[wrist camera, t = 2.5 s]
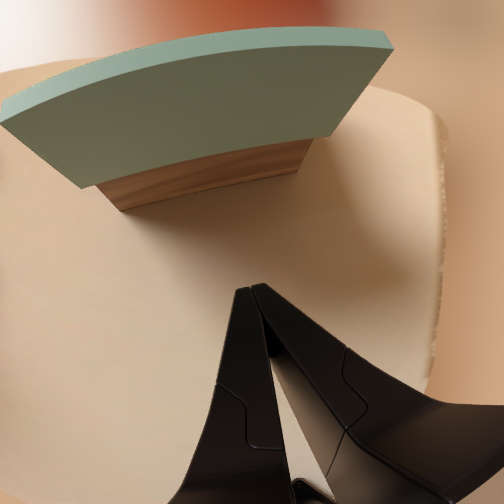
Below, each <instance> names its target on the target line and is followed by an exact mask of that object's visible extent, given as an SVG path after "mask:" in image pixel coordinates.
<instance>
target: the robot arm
mask: <svg viewBox="0 0 504 504" xmlns="http://www.w3.org/2000/svg"><path fill="white" fill-rule="evenodd" d="M270 363H271V364H270ZM271 365H272V367H273V370H274V372H275V374H276V376H277V378H278V380H279V383H280V385H281V387H282V389H283V391H284V393H285V395H286V398H287V400H288V402H289V404H290V406H291V408H292V410H293V413H294V415H295V417H296V419H297V421H298V423H299V425H300V427H301V429H302V431H303V434H304V436H305V438H306V440H307V442H308V444H309V446H310V448H311V450H312V452H313V454H314V456H315V458H316V460H317V462H318V465H319V467H320V469H321V471H322V473H323V475H324V477H325V478H326V481H327V483H328V485H329V487H330V489H331V491H332V493H333V495H334V497H335V499H336V501H337V502H335V501H334V500H332V499H331V498H329V497H328V496H326V495H325V494H323V493H322V492H320V491H319V490H317V489H316V488H315V487H313V486H312V485H310V484H309V483H308V482H306V481H305V480H303V479H302V478H296V479H294V480H293V481H292V482H291V478H290V473H289V468H288V462H287V457H286V452H285V445H284V439H283V434H282V428H281V422H280V416H279V410H278V405H277V399H276V393H275V387H274V381H273V376H272V370H271ZM297 483H301V484H300V485H296V484H297ZM168 504H504V405H472V404H454V403H446V402H441V401H438V400H435V399H433V398H430V397H428V396H426V395H424V394H422V393H421V392H419V391H417V390H415V389H413V388H412V387H410V386H408V385H406V384H405V383H403V382H401V381H399V380H397V379H396V378H394V377H392V376H390V375H389V374H387V373H385V372H384V371H382V370H380V369H379V368H377V367H376V366H374V365H372V364H371V363H370V362H368V361H367V360H365V359H364V358H362V357H361V356H360V355H358V354H357V353H356V352H354V351H353V350H352V349H350V348H349V347H347V346H346V345H345V344H344V343H342V342H341V341H340V340H338V339H337V338H336V337H334V336H333V335H332V334H330V333H329V332H328V331H327V330H325V329H324V328H323V327H321V326H320V325H319V324H317V323H316V322H315V321H313V320H312V319H311V318H310V317H308V316H307V315H306V314H304V313H303V312H302V311H300V310H299V309H298V308H297V307H295V306H294V305H293V304H291V303H290V302H289V301H288V300H286V299H285V298H284V297H282V296H281V295H280V294H278V293H277V292H276V291H275V290H273V289H272V288H271V287H269V286H268V285H267V284H266V283H260V284H256V285H252V286H251V288H250V287H244V288H239V289H237V290H236V291H235V295H234V299H233V304H232V308H231V313H230V318H229V322H228V327H227V332H226V336H225V341H224V346H223V351H222V355H221V360H220V365H219V369H218V374H217V379H216V385H215V388H214V392H213V397H212V401H211V405H210V409H209V413H208V416H207V419H206V422H205V425H204V428H203V431H202V434H201V437H200V439H199V442H198V445H197V447H196V450H195V453H194V455H193V458H192V460H191V463H190V466H189V468H188V471H187V473H186V476H185V478H184V480H183V482H182V484H181V486H180V488H179V489H178V491H177V492H176V494H175V495H174V496H173V498H172V499H171V500H170V501H169V502H168Z"/></svg>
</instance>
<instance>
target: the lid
mask: <svg viewBox="0 0 504 504" xmlns="http://www.w3.org/2000/svg"><path fill="white" fill-rule="evenodd" d="M393 50H394V48H393V46H392V44H391V43H390V41H389V39H388V38H387V36H386V34H385V33H384V31H378V30H368V29H357V28H341V27H273V28H256V29H244V30H235V31H227V32H219V33H211V34H204V35H198V36H192V37H187V38H181V39H176V40H172V41H166V42H162V43H157V44H153V45H149V46H145V47H141V48H137V49H134V50H129V51H126V52H123V53H119V54H116V55H112V56H109V57H106V58H103V59H100V60H97V61H94V62H91V63H88V64H85V65H82V66H79V67H77V68H74V69H71V70H69V71H66V72H64V73H61V74H59V75H56V76H54V77H51V78H49V79H47V80H44V81H42V82H40V83H38V84H35V85H33V86H31V87H29V88H27V89H25V90H23V91H21V92H19V93H17V94H15V95H13V96H11V97H9V98H7V99H5V100H3V101H2V105H1V112H0V125H2V126H3V127H4V128H5V129H6V130H8V131H9V132H10V133H11V134H12V135H14V136H15V137H16V138H17V139H18V140H20V141H21V142H22V143H23V144H25V145H26V146H27V147H28V148H30V149H31V150H32V151H33V152H34V153H36V154H37V155H38V156H39V157H41V158H42V159H43V160H45V161H46V162H47V163H48V164H50V165H51V166H52V167H53V168H55V169H56V170H57V171H59V172H60V173H61V174H62V175H64V176H65V177H66V178H68V179H69V180H70V181H71V182H73V183H74V184H75V185H77V186H78V187H79V188H81V189H83V188H86V187H89V186H93V185H96V184H99V183H102V182H106V181H109V180H113V179H116V178H120V177H123V176H127V175H131V174H134V173H138V172H142V171H146V170H150V169H153V168H157V167H161V166H166V165H170V164H174V163H178V162H182V161H187V160H191V159H196V158H200V157H205V156H210V155H215V154H220V153H225V152H230V151H235V150H241V149H246V148H252V147H258V146H264V145H270V144H276V143H282V142H289V141H296V140H303V139H311V138H319V137H327V136H330V135H331V134H332V133H333V131H334V130H335V128H336V127H337V126H338V124H339V123H340V122H341V120H342V119H343V118H344V116H345V115H346V114H347V112H348V111H349V110H350V108H351V107H352V105H353V104H354V103H355V101H356V100H357V99H358V97H359V96H360V95H361V93H362V92H363V91H364V89H365V88H366V87H367V85H368V84H369V82H370V81H371V80H372V78H373V77H374V76H375V74H376V73H377V72H378V70H379V69H380V68H381V66H382V65H383V64H384V62H385V61H386V60H387V58H388V57H389V56H390V54H391V53H392V51H393Z"/></svg>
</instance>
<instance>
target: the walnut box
mask: <svg viewBox="0 0 504 504" xmlns="http://www.w3.org/2000/svg"><path fill="white" fill-rule="evenodd" d="M312 140H313V138H311V139H303V140H296V141H289V142H282V143H276V144H270V145H264V146H258V147H252V148H246V149H241V150H235V151H230V152H225V153H220V154H215V155H210V156H205V157H200V158H196V159H191V160H187V161H182V162H178V163H174V164H170V165H166V166H161V167H157V168H153V169H150V170H146V171H142V172H138V173H134V174H131V175H127V176H123V177H120V178H116V179H113V180H109V181H106V182H102V183H99V184H96V186H97V188H98V189H99V190H100V191H101V192H102V193H103V194H104V195H105V196H106V197H107V198H108V199H109V200H110V201H111V202H112V204H113V205H114V206H115V207H116V208H117V209H118V210H119V211H123V210H126V209H130V208H134V207H138V206H142V205H146V204H150V203H154V202H158V201H162V200H166V199H170V198H174V197H178V196H182V195H187V194H191V193H195V192H200V191H204V190H209V189H213V188H218V187H223V186H227V185H232V184H237V183H242V182H247V181H252V180H257V179H262V178H268V177H273V176H279V175H284V174H290V173H295V172H297V171H298V169H299V167H300V165H301V163H302V161H303V159H304V157H305V155H306V153H307V151H308V149H309V147H310V145H311V143H312Z"/></svg>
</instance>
